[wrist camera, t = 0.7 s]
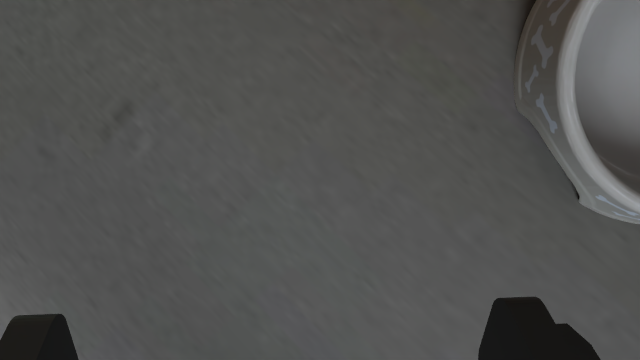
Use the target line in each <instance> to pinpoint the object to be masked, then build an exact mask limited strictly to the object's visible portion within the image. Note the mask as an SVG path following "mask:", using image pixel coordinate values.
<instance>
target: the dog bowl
mask: <svg viewBox="0 0 640 360" xmlns="http://www.w3.org/2000/svg"><path fill="white" fill-rule="evenodd" d="M514 98H515V104H516V108H517V110H518V111H519V112H520V113H521V114H522V115H524V116H525V117H526V118H527V119H528V120H529V121H530V122H531V123H532V125H533V126H534V127H535V128H536V130H537V131H538V132H539V134H540V135H541V137H542V138H543V140H544V141H545V143H546V145H547V146H548V148H549V150H550V151H551V152H552V154H553V155H554V157H555V158H556V160H557V161H558V163H559V164H560V165H561V167H562V168H563V170H564V171H565V173H566V174H567V176H568V178H569V179H570V180H571V181H572V183H573V184H574V186H575V188H576V190H577V192H578V193H579V196H580V198H579V203H581V204H582V205H583V206H585V207H587V208H589V209H591V210H593V211H595V212H597V213H600V214H602V215H605V216H607V217H611V218H614V219H617V220H621V221H625V222H630V223H636V224H640V0H536V2H535V3H534V5H533V7H532V9H531V11H530V13H529V15H528V18H527V20H526V22H525V25H524V28H523V31H522V34H521V37H520V40H519V44H518V49H517V54H516V60H515V69H514Z"/></svg>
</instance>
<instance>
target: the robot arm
mask: <svg viewBox="0 0 640 360" xmlns="http://www.w3.org/2000/svg"><path fill="white" fill-rule="evenodd" d="M0 360H78V356H77V353H76V350H75V347H74V344H73V340H72V337H71V334H70V331H69V328H68V325H67V321H66V319H65V317H64V316H63V315H62V314H44V315H19V316H15V317H14V318H13V319H12V320H11V321H10V323H9V324H8V326H7V328H6V330H5V332H4V334H3V336H2V338H1V340H0ZM478 360H600V358H599V357H598V355H597V353H596V352H595V350H594V349H593V347H592V345H591V344H590V343H588V342H587V341H586V340H585V339H584V338H583V337H582V336H581V335H579V334H578V333H577V332H576V331H575V330H574V329H573V328H572V327H570V326H569V325H568V324H555V322H554V320H553V319H552V317H551V315H550V314H549V312H548V310H547V308H546V307H545V305H544V304H543V302H542V301H541V300H540V299H539V298H537V297H513V298H497V299H496V300H495V301H494V303H493V305H492V309H491V312H490V315H489V318H488V322H487V325H486V328H485V332H484V335H483V338H482V341H481V345H480V348H479V355H478Z"/></svg>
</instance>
